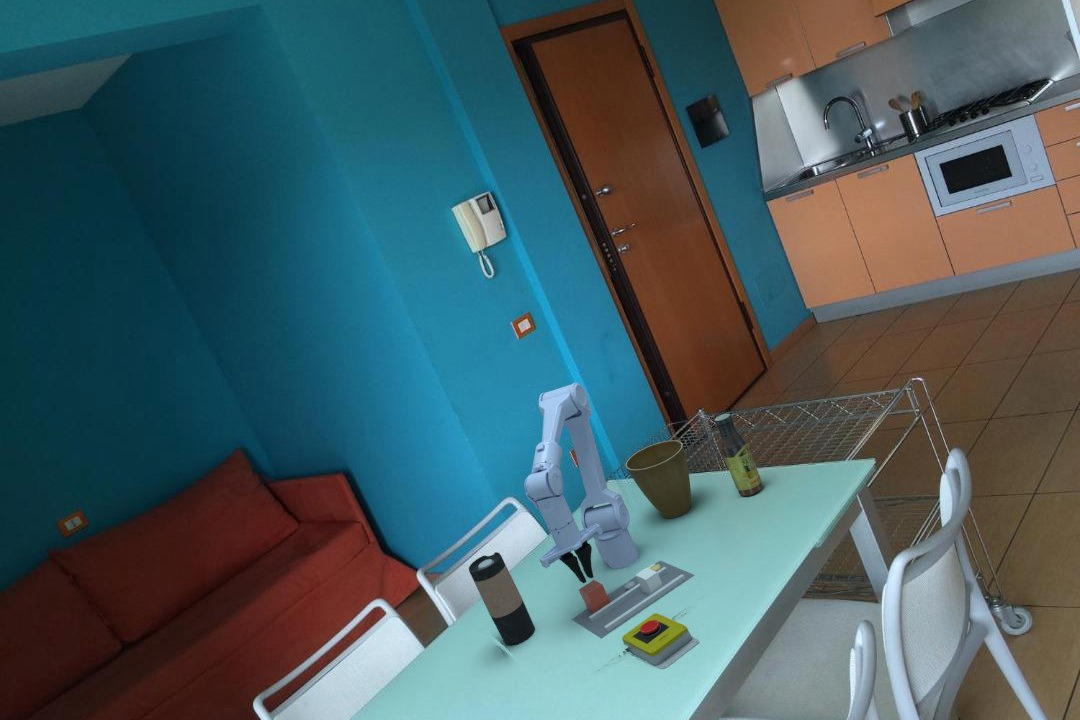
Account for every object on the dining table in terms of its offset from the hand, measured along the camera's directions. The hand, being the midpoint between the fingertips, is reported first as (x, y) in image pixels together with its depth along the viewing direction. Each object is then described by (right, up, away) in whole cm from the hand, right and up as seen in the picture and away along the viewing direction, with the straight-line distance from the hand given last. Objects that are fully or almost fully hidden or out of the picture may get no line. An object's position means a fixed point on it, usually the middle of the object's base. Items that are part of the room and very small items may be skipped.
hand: (586, 579), depth 193 cm
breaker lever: (+14, -2, -2) cm, 14 cm away
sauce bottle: (+41, +15, +28) cm, 52 cm away
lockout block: (+3, -6, +1) cm, 7 cm away
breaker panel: (+10, -5, 0) cm, 11 cm away
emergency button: (+13, -8, -19) cm, 25 cm away
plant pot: (+24, +9, +35) cm, 43 cm away
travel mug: (-14, -15, +5) cm, 20 cm away
